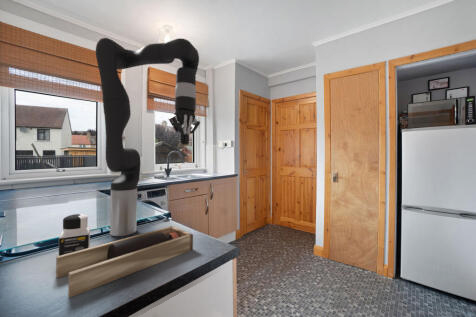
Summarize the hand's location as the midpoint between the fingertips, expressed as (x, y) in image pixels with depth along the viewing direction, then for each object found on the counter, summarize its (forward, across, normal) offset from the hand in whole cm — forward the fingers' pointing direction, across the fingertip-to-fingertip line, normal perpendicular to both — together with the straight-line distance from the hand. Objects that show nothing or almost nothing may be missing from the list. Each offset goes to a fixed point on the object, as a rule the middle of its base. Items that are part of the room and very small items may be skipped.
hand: (184, 144), depth 82 cm
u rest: (+35, +20, +4) cm, 41 cm away
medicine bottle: (+35, +30, -13) cm, 48 cm away
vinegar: (+32, +26, +4) cm, 41 cm away
